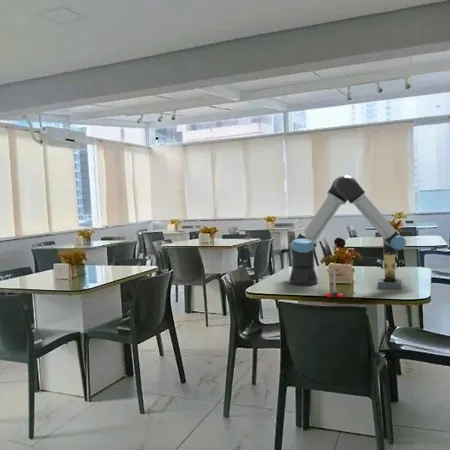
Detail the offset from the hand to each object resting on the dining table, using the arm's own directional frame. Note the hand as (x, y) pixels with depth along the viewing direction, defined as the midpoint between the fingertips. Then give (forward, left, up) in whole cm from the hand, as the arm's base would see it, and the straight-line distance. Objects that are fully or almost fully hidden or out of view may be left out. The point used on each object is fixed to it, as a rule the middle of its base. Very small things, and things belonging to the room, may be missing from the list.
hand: (389, 266), depth 236 cm
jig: (0, +5, -11) cm, 12 cm away
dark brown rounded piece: (-30, +55, -11) cm, 64 cm away
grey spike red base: (-24, -23, -11) cm, 35 cm away
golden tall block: (0, +5, -8) cm, 9 cm away
